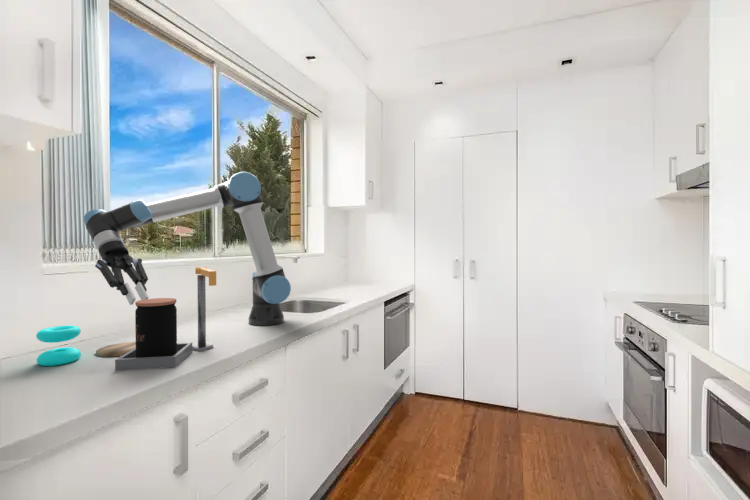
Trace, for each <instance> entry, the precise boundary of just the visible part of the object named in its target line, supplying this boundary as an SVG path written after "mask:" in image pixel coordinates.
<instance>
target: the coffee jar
mask: <svg viewBox="0 0 750 500" xmlns="http://www.w3.org/2000/svg"><path fill="white" fill-rule="evenodd" d="M176 303H177V299H176V298H171V297H161V298H158V297H157V298H148V299H145V300H141V299H139V300H135V301H134V304H135V307H137V308H136V309H135V311H134V312H135V318H134V321H135V322H134V325H135V342H136V358H142V357H162V356H174V355H175V354H176V353H177V343H178V332H177V331H178V329H177V328H178V325H177V323H178V322H177V319H178V313H177V312H178V311H177V306H176V305H175V304H176Z"/></svg>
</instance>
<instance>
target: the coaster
mask: <svg viewBox="0 0 750 500" xmlns="http://www.w3.org/2000/svg"><path fill="white" fill-rule="evenodd" d="M134 348H136V341H129V342H120V343H114V344H110V345H105V346H103V347H99V348H98V349H97V350H96V351H95V355H96V356H97V357H102V358H116V357H117V358H119V357H121V356H122V355H124V354H126V353H127V352H129V351H131V350H132V349H134Z"/></svg>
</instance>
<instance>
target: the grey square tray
mask: <svg viewBox="0 0 750 500" xmlns="http://www.w3.org/2000/svg"><path fill="white" fill-rule="evenodd" d="M192 346H193V342H181V343H180V342H179V343H178V342H177V353H176V354H175V355H174V356H162V357H142V358H136V348H134V349H132V350H131V351H129V352H127V353H126V354H124V355H122V356H118V357H117V358H116V359H114V371H115V372H116V371H134V370H136V371H137V370H151V369H153V370H154V369H169V368H170V369H171V368H172V369H173V368H177V366H179V365H180V364H181V363H182V362H184V360H186V359H187V358H188V357H189V356H190V355H191V354H192V353H193V350H192Z"/></svg>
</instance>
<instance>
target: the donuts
mask: <svg viewBox="0 0 750 500" xmlns="http://www.w3.org/2000/svg"><path fill="white" fill-rule="evenodd" d="M81 332H82V331H81V328H80V326H76V325H58V326H51V327H45V328H43V329H40V330H39V331H37V333H36V339H37V340H38V341H40V342H42V343H48V344H49V343H51V344H52V343H61V342H62V343H63V342H67V341H71V340H73V339H75V338H77V337H78V336H79V335H80V334H81ZM81 356H82V353H81V351H80V350H79V349H78V348H75V347H70V346H69V347H57V348H53V349H49V350H48V349H47V350H45V351H43V352H41V353H40V354H39V355H38V356H37V358H36V363H37V364H38V365H40V366H44V367H52V366H54V367H55V366H61V365H62V366H63V365H66V364H70V363H73V362H75V361H77V360H79V359H80V358H81Z"/></svg>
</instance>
